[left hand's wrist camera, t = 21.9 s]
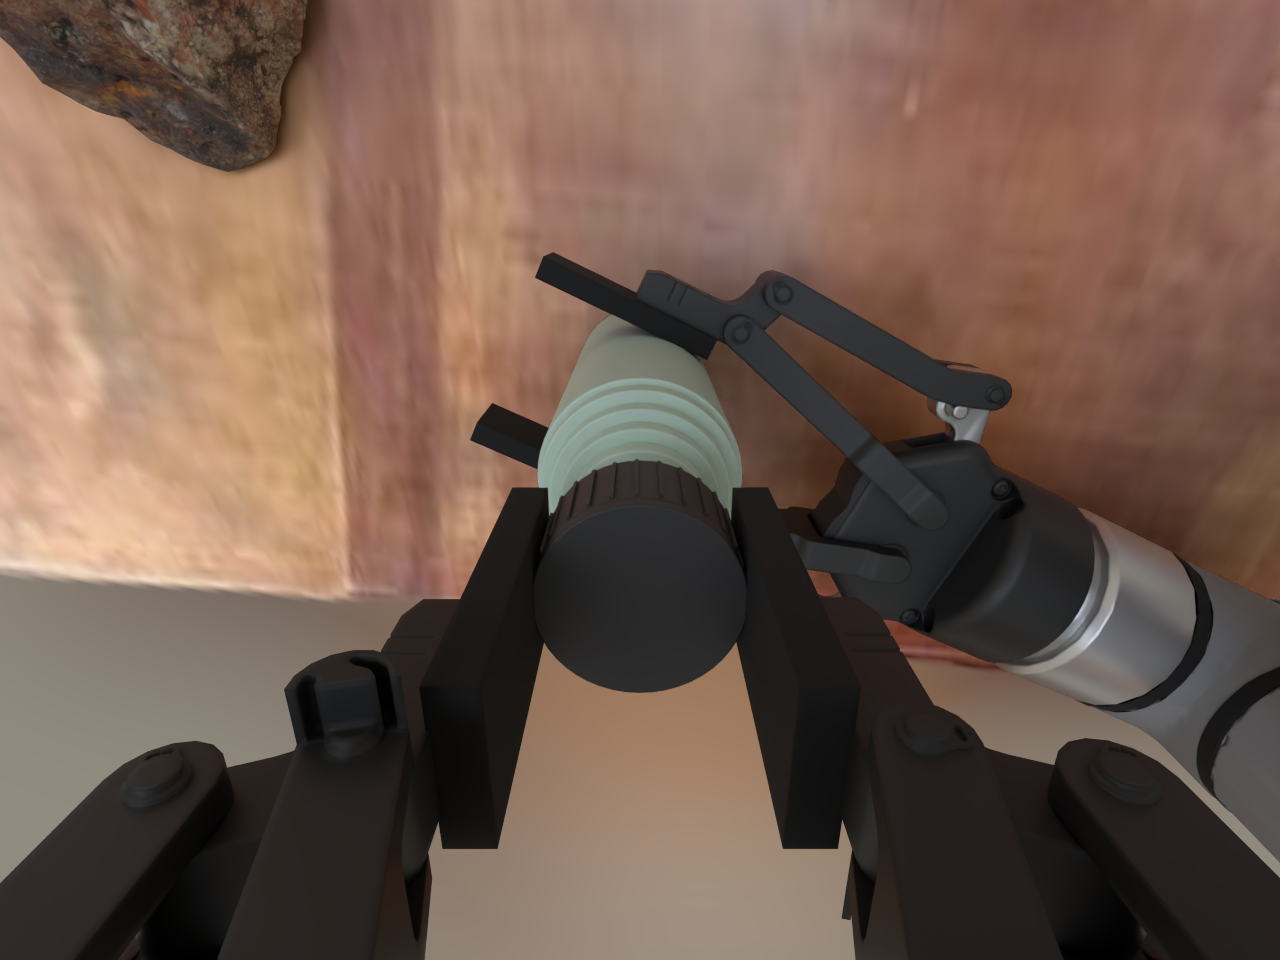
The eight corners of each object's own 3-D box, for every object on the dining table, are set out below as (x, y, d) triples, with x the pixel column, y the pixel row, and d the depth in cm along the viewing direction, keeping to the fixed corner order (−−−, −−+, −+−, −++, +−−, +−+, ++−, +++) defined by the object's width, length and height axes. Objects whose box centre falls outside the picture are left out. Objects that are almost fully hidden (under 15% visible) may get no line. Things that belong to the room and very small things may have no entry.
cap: (603, 421, 14) (596, 461, 11) (772, 515, 14) (795, 569, 12) (512, 575, 15) (490, 638, 13) (671, 654, 16) (676, 726, 14)
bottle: (619, 283, 30) (587, 391, 12) (722, 348, 32) (842, 543, 13) (559, 387, 32) (447, 625, 13) (658, 445, 33) (682, 741, 15)
